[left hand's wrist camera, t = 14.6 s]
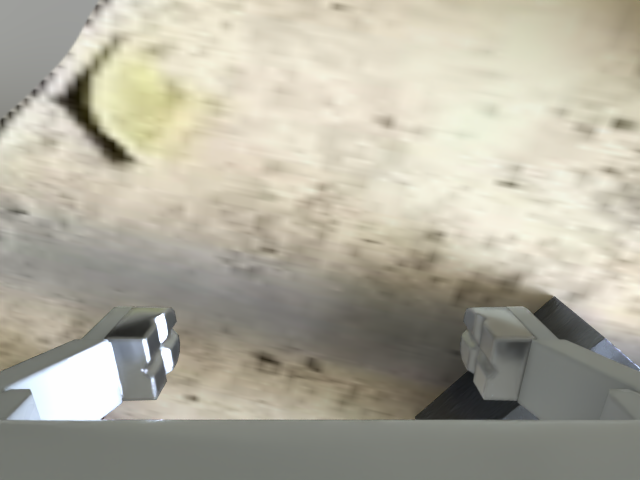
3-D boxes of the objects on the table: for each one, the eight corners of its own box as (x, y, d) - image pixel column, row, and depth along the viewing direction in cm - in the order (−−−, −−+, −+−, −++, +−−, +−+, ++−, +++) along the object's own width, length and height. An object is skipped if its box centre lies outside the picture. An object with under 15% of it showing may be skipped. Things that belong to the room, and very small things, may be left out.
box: (553, 295, 45) (605, 337, 37) (585, 323, 46) (641, 369, 38) (414, 417, 51) (431, 474, 43) (445, 437, 52) (468, 497, 44)
